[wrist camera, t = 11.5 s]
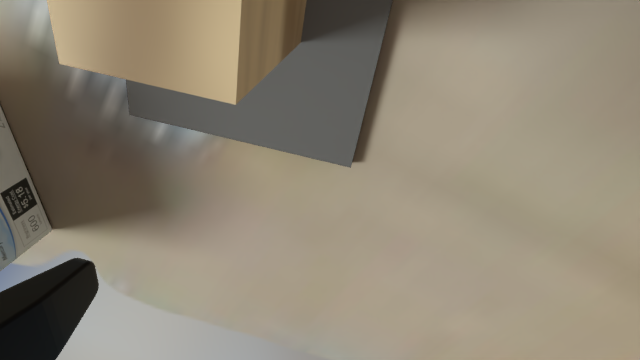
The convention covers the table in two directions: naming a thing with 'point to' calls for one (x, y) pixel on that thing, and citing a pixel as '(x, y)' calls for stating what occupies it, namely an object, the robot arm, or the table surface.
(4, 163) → the light bulb box
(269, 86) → the mat
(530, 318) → the table surface
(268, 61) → the tan wooden block
